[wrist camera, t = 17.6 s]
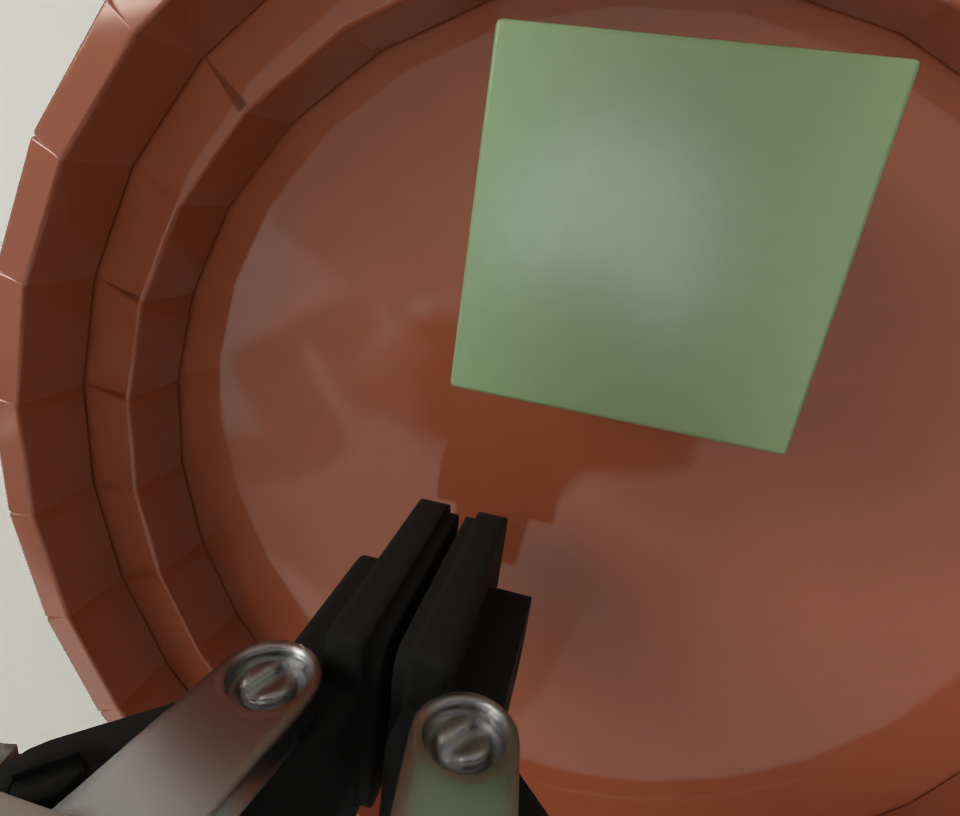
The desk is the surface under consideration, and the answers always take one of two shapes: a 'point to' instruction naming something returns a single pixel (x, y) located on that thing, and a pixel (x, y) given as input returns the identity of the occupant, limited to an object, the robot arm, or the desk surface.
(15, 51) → the desk surface
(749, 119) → the block
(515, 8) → the bowl
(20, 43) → the desk surface
